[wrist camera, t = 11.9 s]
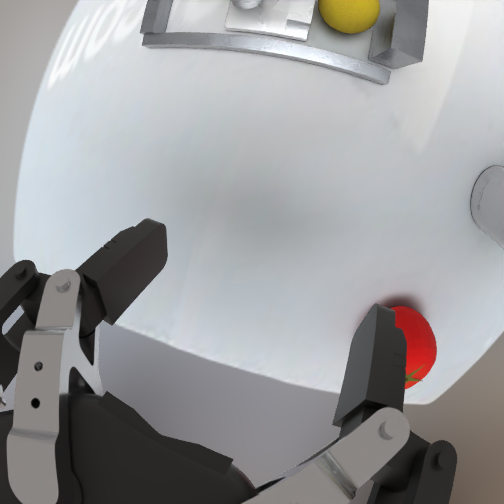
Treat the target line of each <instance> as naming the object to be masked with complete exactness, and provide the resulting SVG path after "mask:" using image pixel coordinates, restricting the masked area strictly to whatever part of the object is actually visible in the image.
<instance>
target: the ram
mask: <svg viewBox="0 0 504 504" xmlns="http://www.w3.org/2000/svg"><path fill="white" fill-rule="evenodd" d="M314 4H315V0H231V1H230V5H229V9H228V13H227V18H226V22H225V29H226V30H230V31H241V32H251V33H259V34H266V35H273V36H279V37H285V38H290V39H295V40H300V41H305V42H306V39H307V34H308V31H309V28H310V24H311V20H312V14H313V9H314Z"/></svg>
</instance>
